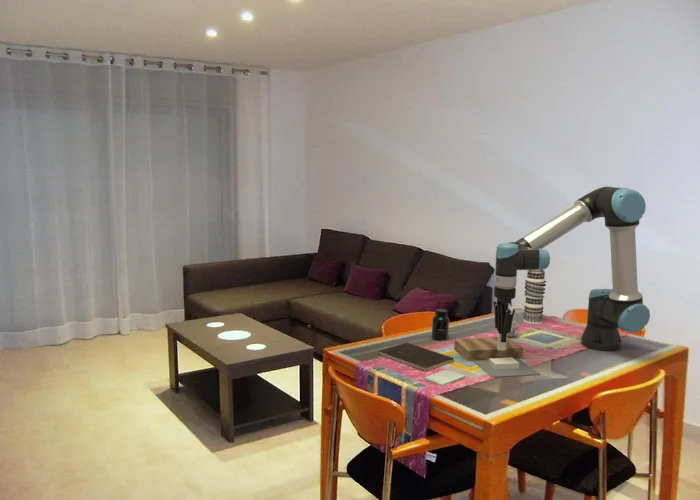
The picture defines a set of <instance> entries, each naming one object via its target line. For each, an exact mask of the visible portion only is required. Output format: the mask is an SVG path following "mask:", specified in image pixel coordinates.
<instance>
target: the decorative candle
mask: <svg viewBox="0 0 700 500" xmlns="http://www.w3.org/2000/svg"><path fill="white" fill-rule="evenodd" d="M526 273H527V274H526V275H527V276H526V279H525V283H524V285H525V286H524V289H525V290H524V297H525V302H524V305H523V307H524V309H523V311H524V312H523V316H522V317H523V320H522V321H523V322H524V323H525V324H530V325H539V324H540V325H541V324H543V320H544V319H543V317H544V315H543V313H544V311H543V310H544V298H545V296H544V295H545V294H546V292H545V291H546V288H545V286H547V285H546V283H547V280H546V279H545V275H546V271H545V269H541V270H526Z"/></svg>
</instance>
